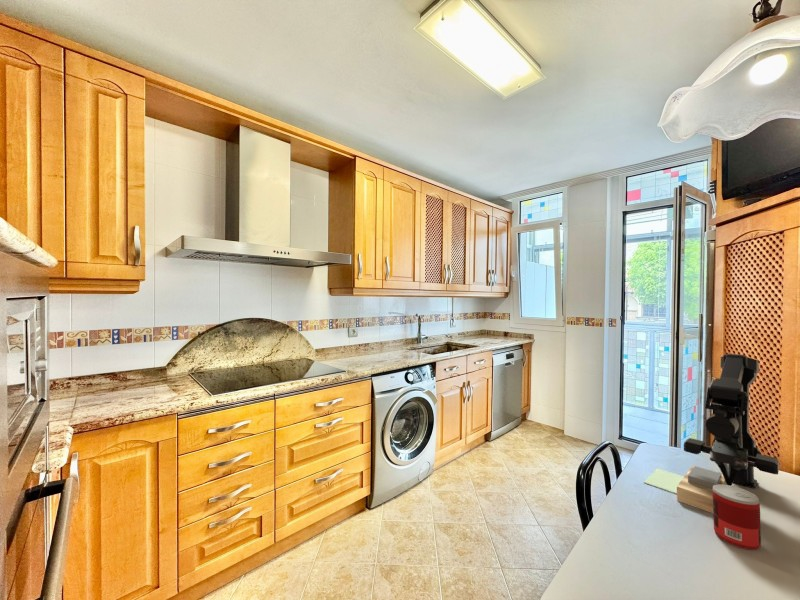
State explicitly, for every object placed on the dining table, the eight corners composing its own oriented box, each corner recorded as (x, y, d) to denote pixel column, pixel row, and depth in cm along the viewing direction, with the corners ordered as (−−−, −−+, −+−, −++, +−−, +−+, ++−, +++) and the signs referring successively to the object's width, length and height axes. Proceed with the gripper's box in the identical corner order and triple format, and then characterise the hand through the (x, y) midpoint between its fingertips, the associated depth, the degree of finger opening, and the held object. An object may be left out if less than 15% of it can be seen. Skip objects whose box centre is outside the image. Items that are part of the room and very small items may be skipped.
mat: (657, 469, 113) (657, 468, 113) (691, 479, 106) (691, 478, 106) (644, 482, 104) (643, 482, 104) (680, 495, 97) (680, 494, 97)
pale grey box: (695, 472, 102) (694, 466, 102) (721, 480, 98) (721, 473, 98) (688, 482, 97) (687, 475, 97) (716, 490, 92) (715, 483, 92)
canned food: (771, 553, 74) (769, 503, 74) (729, 548, 76) (728, 499, 76) (743, 530, 82) (741, 485, 82) (705, 526, 83) (704, 482, 84)
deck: (693, 477, 107) (692, 465, 107) (727, 488, 101) (727, 475, 101) (677, 500, 94) (676, 486, 95) (715, 513, 88) (714, 498, 88)
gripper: (678, 427, 96) (680, 481, 95) (775, 447, 81) (778, 512, 81) (687, 418, 103) (688, 469, 102) (778, 436, 88) (780, 495, 88)
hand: (729, 485), depth 93 cm, fingers closed
